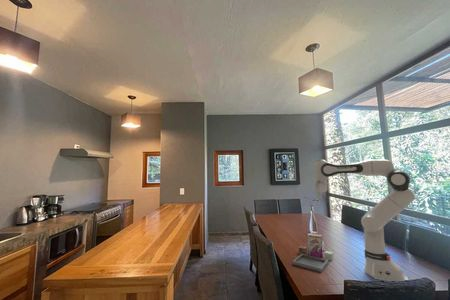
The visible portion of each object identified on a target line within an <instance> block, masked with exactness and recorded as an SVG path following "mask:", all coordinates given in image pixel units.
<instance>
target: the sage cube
mask: <svg viewBox="0 0 450 300" xmlns="http://www.w3.org/2000/svg"><path fill="white" fill-rule="evenodd" d="M323 256H324V259H326V260H329V261H333V260H334V252H333V251H328V250H325V251H323Z"/></svg>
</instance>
